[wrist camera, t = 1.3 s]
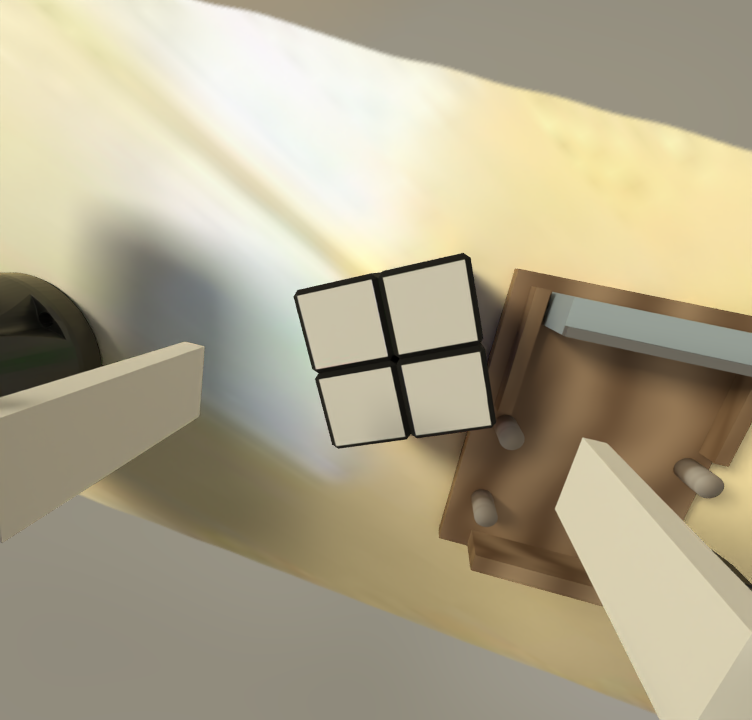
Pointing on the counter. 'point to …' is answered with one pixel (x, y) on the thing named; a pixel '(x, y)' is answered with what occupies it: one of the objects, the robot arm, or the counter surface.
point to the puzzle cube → (399, 353)
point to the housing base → (584, 430)
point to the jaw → (650, 333)
